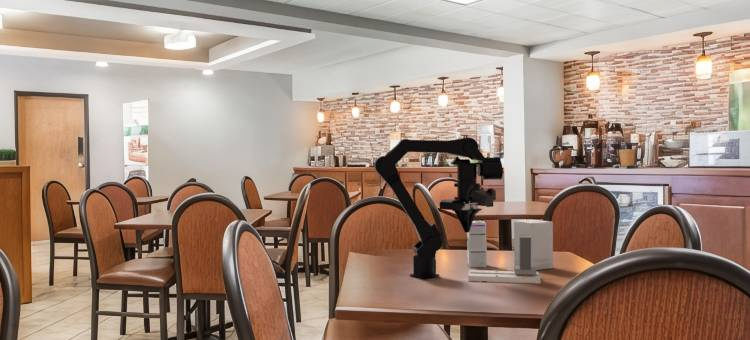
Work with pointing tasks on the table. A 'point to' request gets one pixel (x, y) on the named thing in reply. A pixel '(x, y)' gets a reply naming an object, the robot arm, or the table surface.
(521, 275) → the fader base
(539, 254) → the supplement box
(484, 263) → the syrup box
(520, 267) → the fader
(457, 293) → the table surface
